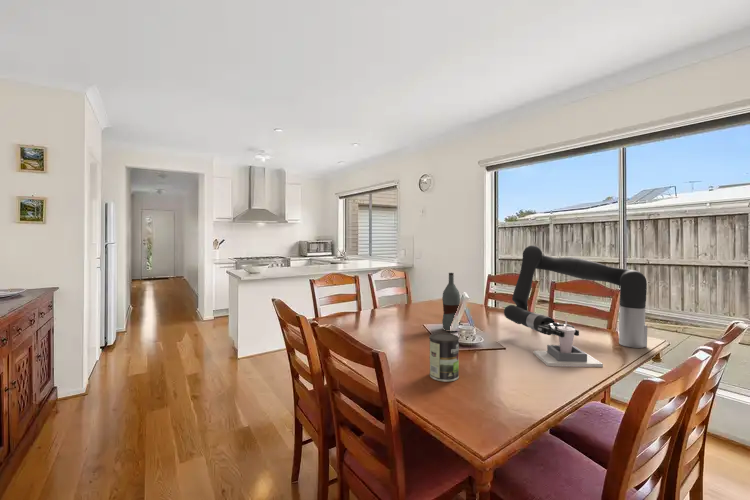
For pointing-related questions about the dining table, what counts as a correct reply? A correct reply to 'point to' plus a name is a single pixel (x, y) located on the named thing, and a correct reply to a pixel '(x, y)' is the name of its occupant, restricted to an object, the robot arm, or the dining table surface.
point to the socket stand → (567, 357)
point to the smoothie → (566, 338)
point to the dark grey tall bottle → (450, 302)
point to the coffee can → (444, 357)
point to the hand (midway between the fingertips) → (571, 334)
